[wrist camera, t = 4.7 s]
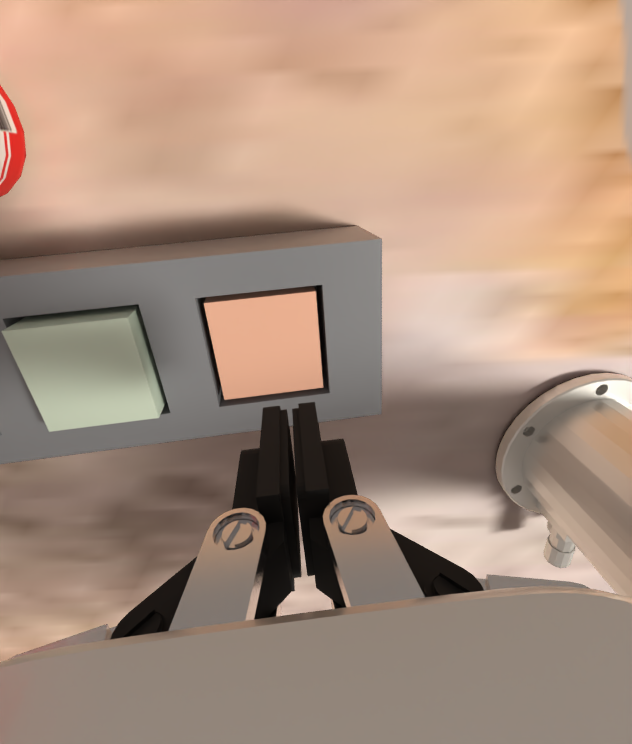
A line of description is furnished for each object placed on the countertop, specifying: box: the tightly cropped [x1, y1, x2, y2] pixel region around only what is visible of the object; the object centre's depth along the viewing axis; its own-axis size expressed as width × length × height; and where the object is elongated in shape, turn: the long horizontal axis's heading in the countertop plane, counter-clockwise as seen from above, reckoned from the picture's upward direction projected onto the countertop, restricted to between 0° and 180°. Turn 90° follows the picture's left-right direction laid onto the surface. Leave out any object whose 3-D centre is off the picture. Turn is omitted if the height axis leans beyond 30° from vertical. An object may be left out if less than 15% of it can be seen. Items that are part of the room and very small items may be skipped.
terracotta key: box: [204, 286, 323, 400], centre depth 20 cm, size 5×5×3 cm
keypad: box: [0, 226, 382, 464], centre depth 20 cm, size 9×27×5 cm, turn 94°
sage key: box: [1, 304, 166, 432], centre depth 18 cm, size 5×5×3 cm
